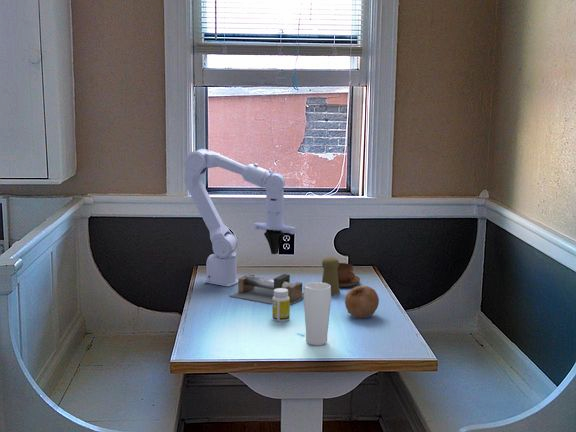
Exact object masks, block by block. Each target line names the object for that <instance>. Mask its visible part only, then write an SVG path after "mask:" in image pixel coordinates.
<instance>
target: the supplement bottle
mask: <svg viewBox="0 0 576 432" xmlns="http://www.w3.org/2000/svg"><path fill="white" fill-rule="evenodd" d="M271 306H272V307H271V308H272V309H271V311H272V314H271V315H272V320H273V321H275V322H280V323H282V322H287V321H289V320H290V315H291V314H290V311H291V310H290V307H291V305H290V298H289V296H288V289H285V288H277V289H274V296H273V298H272V304H271Z"/></svg>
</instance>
